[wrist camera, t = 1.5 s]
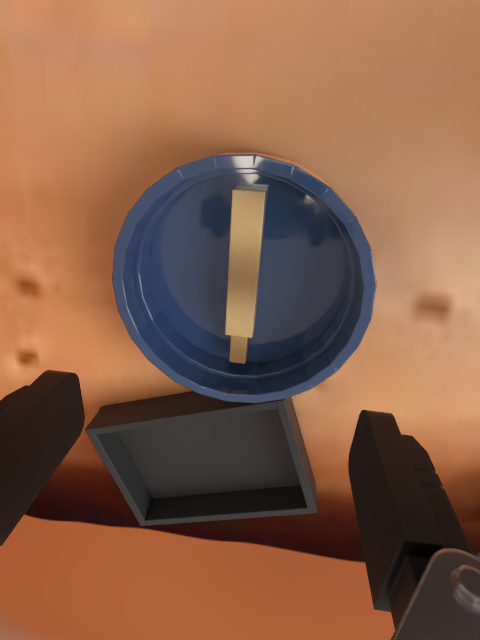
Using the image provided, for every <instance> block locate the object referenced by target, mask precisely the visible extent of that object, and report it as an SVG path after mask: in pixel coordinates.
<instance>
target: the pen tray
mask: <svg viewBox="0 0 480 640" xmlns="http://www.w3.org/2000/svg"><path fill="white" fill-rule="evenodd" d="M85 431H86V433H87V434H88V436H89V438H90V440H91V441H92V443H93V445H94V446H95V448H96V450H97V451H98V453H99V455H100V457H101V458H102V460H103V462H104V463H105V465H106V467H107V469H108V470H109V472H110V474H111V475H112V477H113V479H114V480H115V482H116V484H117V486H118V487H119V489H120V491H121V492H122V494H123V496H124V498H125V499H126V501H127V503H128V504H129V506H130V508H131V510H132V511H133V513H134V515H135V516H136V518H137V520H138V521H139V523H140V525H141V526H145V525H160V524H174V523H187V522H201V521H214V520H228V519H241V518H255V517H269V516H282V515H296V514H308V513H317V500H316V485H315V481H314V477H313V474H312V470H311V467H310V463H309V459H308V456H307V452H306V449H305V445H304V442H303V438H302V435H301V431H300V428H299V424H298V420H297V417H296V413H295V410H294V406H293V403H292V399H291V397H289V398H285V399H281V400H274V401H268V402H261V403H245V402H230V401H224V400H220V399H217V398H213V397H209V396H206V395H202V394H199V393H196V392H189V393H183V394H177V395H171V396H165V397H159V398H153V399H147V400H141V401H135V402H129V403H122V404H116V405H110V406H104V407H101V408H100V410H99V411H98V412H97V414H96V415H95V417H94V418H93V419H92V421H91V422H90V424H89V425H88V426H87V428H86V429H85Z"/></svg>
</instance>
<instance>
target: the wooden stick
mask: <svg viewBox="0 0 480 640" xmlns="http://www.w3.org/2000/svg"><path fill="white" fill-rule="evenodd" d="M266 199H267V188H259V187H247V186H236V187H235V188H234V189H233V190H232V207H231V227H230V246H229V266H228V285H227V305H226V324H225V335H231V339H230V355H229V362H235V363H243V364H245V363H246V358H247V350H248V339H249V338H252V337H253V332H254V327H255V319H256V308H257V297H258V286H259V275H260V264H261V254H262V243H263V232H264V221H265V210H266Z"/></svg>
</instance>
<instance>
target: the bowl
mask: <svg viewBox="0 0 480 640" xmlns="http://www.w3.org/2000/svg"><path fill="white" fill-rule="evenodd" d="M236 186H247V187H259V188H267V199H266V210H265V221H264V232H263V243H262V254H261V264H260V275H259V286H258V297H257V308H256V319H255V327H254V332H253V337H252V338H249V339H248V350H247V358H246V363H245V364H243V363H235V362H229V355H230V339H231V335H225V324H226V305H227V285H228V266H229V246H230V227H231V207H232V190H233V189H234V188H235V187H236ZM112 278H113V279H112V281H113V287H114V292H115V297H116V303H117V308H118V311H119V313H120V316H121V318H122V320H123V322H124V324H125V326H126V329H127V331H128V333H129V335H130V337H131V339H132V340H133V341H134V343H135V344H136V345H137V346H138V348H139V349H140V350H141V351H142V353H143V354H144V355H145V357H146V358H147V359H148V360H150V362H151V363H152V364H154V365H155V366H156V367H157V368H158V369H160V370H161V371H162V372H163V373H164V374H166V375H167V376H168V377H169V378H171V379H172V380H173V381H175V382H177V383H179V384H181V385H183V386H185V387H187V388H189V389H190V390H192V391H194V392H196V393H199V394H202V395H206V396H209V397H213V398H217V399H220V400H224V401H230V402H245V403H261V402H268V401H274V400H281V399H285V398H289V397H292V396H294V395H297V394H299V393H302V392H304V391H307V390H309V389H312V388H314V387H315V386H317V385H318V384H320V383H321V382H323V381H324V380H325V379H327V378H328V377H330V376H331V375H333V374H334V373H335V372H337V371H338V370H339V369H340V368H341V366H342V365H343V364H344V363H345V362H346V361H347V359H348V358H349V357H350V356H351V355H352V353H353V352H354V351H355V350H356V349H357V347H358V346H359V344H360V342H361V340H362V338H363V336H364V333H365V331H366V329H367V327H368V325H369V323H370V320H371V317H372V312H373V305H374V298H375V292H376V284H377V283H376V276H375V270H374V263H373V256H372V250H371V247H370V245H369V243H368V241H367V239H366V237H365V234H364V232H363V230H362V228H361V226H360V224H359V222H358V219H357V217H356V216H355V214H354V213H353V212H352V211H351V210H350V208H349V207H348V206H347V205H346V204H345V203H344V201H343V200H342V199H341V198H340V197H339V196H338V195H337V194H336V192H335V191H334V190H333V189H332V188H331V187H330V186H329V185H328V184H327V182H326V181H324V180H323V179H322V178H320V177H319V176H317V175H316V174H314V173H312V172H311V171H309V170H307V169H306V168H304V167H303V166H301V165H299V164H298V163H296V162H293V161H291V160H287V159H284V158H280V157H276V156H273V155H269V154H265V153H260V152H245V153H223V154H218V155H213V156H210V157H207V158H203V159H200V160H197V161H194V162H191V163H188V164H185V165H182V166H179V167H177V168H176V169H174V170H173V171H171V172H170V173H168V174H167V175H166V176H164V177H163V178H161V179H160V180H158V181H157V182H156V183H154V184H153V185H151V186H150V187H149V188H148V189H147V190H146V191H145V192H144V194H143V195H142V196H141V197H140V199H139V200H138V201H137V203H136V204H135V205H134V207H133V208H132V209H131V210H130V212H129V213H128V214H127V216H126V218H125V221H124V223H123V226H122V229H121V231H120V234H119V237H118V239H117V242H116V244H115V249H114V261H113V273H112Z"/></svg>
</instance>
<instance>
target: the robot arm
mask: <svg viewBox="0 0 480 640" xmlns="http://www.w3.org/2000/svg"><path fill="white" fill-rule="evenodd" d="M84 420H85V414H84V408H83V402H82V395H81V389H80V383H79V378H78V376H77V375H76V374H75V373H69V372H61V371H53V370H47V371H45V372H44V373H43V374H41V375H40V376H39V377H38V378H37V379H36V380H35V381H34V382H33V383H32V384H31V385H30V386H27V385H25V386H24V387H22V388H20V389H18V390H16V391H14V392H12V393H10V394H9V395H7V396H5V397H4V398H3V399H2V400H1V401H0V546H2V545H3V543H4V542H5V540H6V539H7V538H8V536H9V535H10V533H11V532H12V531H13V529H14V528H15V526H16V525H17V523H18V522H19V521H20V519H21V518H22V516H23V515H24V514H25V512H26V511H27V509H28V508H29V507H30V505H31V504H32V502H33V501H34V500H35V498H36V497H37V495H38V494H39V493H40V491H41V490H42V488H43V487H44V485H45V484H46V483H47V481H48V480H49V478H50V477H51V476H52V474H53V473H54V471H55V470H56V469H57V467H58V466H59V464H60V463H61V462H62V460H63V459H64V457H65V456H66V454H67V453H68V452H69V450H70V449H71V447H72V446H73V445H74V443H75V442H76V440H77V439H78V437H79V436H80V434H81V432H82V429H83V426H84ZM348 466H349V477H350V483H351V488H352V493H353V499H354V504H355V509H356V515H357V520H358V525H359V531H360V536H361V542H362V547H363V552H364V558H365V563H366V568H367V574H368V579H369V584H370V589H371V595H372V600H373V605H374V609H376V610H383V611H388V612H391V614H392V618H393V623H394V627H395V632H394V634H393V636H392V638H391V640H480V559H479V558H478V557H476V556H475V555H474V553H473V551H472V550H471V547H470V545H469V543H468V541H467V539H466V536H465V534H464V532H463V530H462V527H461V525H460V523H459V521H458V519H457V516H456V514H455V512H454V510H453V508H452V505H451V503H450V501H449V499H448V497H447V494H446V492H445V490H444V489H442V483H441V481H440V479H439V477H438V475H437V474H436V473H435V468H434V466H433V464H432V461H431V459H430V457H429V455H428V453H427V451H426V450H425V449H424V448H423V447H422V446H421V445H420V444H419V443H418V442H417V441H416V440H415V438H414V437H413V436H409V435H401V433H400V431H399V428H398V426H397V423H396V420H395V418H394V416H393V415H392V414H391V413H384V412H376V411H368V410H362V411H361V413H360V415H359V419H358V423H357V426H356V430H355V434H354V437H353V441H352V445H351V449H350V453H349V464H348Z"/></svg>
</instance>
